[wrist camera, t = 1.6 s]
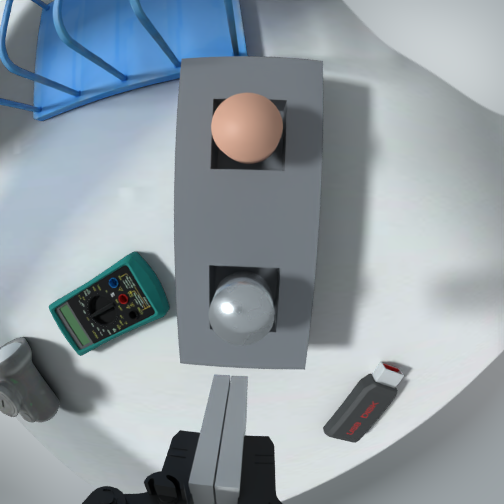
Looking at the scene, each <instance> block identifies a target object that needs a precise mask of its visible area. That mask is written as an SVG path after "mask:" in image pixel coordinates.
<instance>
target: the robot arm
mask: <svg viewBox="0 0 504 504" xmlns="http://www.w3.org/2000/svg"><path fill="white" fill-rule="evenodd" d="M247 386H248V377H247V376H232V377H231V383H230V376H229V375H214V378H213V382H212V386H211V390H210V394H209V398H208V403H207V407H206V411H205V415H204V419H203V423H202V428H201V432H200V433H197V432H189V431H181V430H180V431H179V432H178V433H177V434H176V435H175V436H174V437H173V438H172V441H171V444H170V448H169V450H168V453H167V456H166V459H165V462H164V465H163V468H162V472H161V471H160V472H156V473H153V474H151V475H150V476H148V477H147V478H146V480H145V481H144V484H145V487H146V489H147V492H145V493H140V494H123V493H122V492H121V491H120V490H118V489H117V488H114V487H110V486H103V487H100V488H97V489H96V490H95V491H93V492H92V493H91V494H90V495H89V496H88V498H87V499H86V500H85V501H84V502H83V503H82V504H282V503H281V502H280V501H279V500H278V498H277V496H276V488H275V457H274V444H273V443H272V441H271V439H270V438H269V436H245V432H246V417H247Z"/></svg>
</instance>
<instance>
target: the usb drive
mask: <svg viewBox="0 0 504 504" xmlns="http://www.w3.org/2000/svg"><path fill="white" fill-rule="evenodd" d="M403 377H404V374H403V373H402V371H401V370H400V369H399V368H397V367H394V366H391V365H388V364H386V363H383V362H380V363H379V364H378V366H377V367H376V369H375V370H374V372H373V373H372V374H368V375H367V376H365V377H364V378H362V379H361V380H360V381H359V382H358V384H357V385H356V386H355V388H354V389H353V390H352V392H351V393H350V394H349V396H348V397H347V398H346V400H345V401H344V402H343V404H342V405H341V406H340V407H339V409H338V410H337V411H336V412H335V414H334V415H333V416H332V417H331V419H330V420H329V421H328V422H327V424H326V425H325V426H324V427H323V429H324V432H325V434H326V435H328V436H329V437H333V438H337V439H341V440H345V441H350V442H357V441H359V440H360V439H361V438H362V437H363V436H364V434H365V433H366V432H367V431H368V430H369V429H370V428H371V426H372V425H373V424H374V423H375V422H376V421H377V419H378V418H379V417H380V416H381V415H382V413H383V412H384V411H385V410H386V409H387V407H388V406H389V405H390V404H391V402H392V401H393V400H394V398H395V396H396V394H397V391H398V390H397V388H396V386H397V385H398V384H399V382H400V381H401V379H402V378H403Z"/></svg>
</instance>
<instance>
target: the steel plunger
mask: <svg viewBox="0 0 504 504" xmlns="http://www.w3.org/2000/svg"><path fill="white" fill-rule="evenodd" d="M209 321H210V324H211V327H212V328H213V330H214V331H215V333H216V334H217V335H218V336H219V337H220V338H222V339H223V340H225V341H227V342H229V343H232V344H236V345H249V344H253V343H256V342H258V341H260V340H261V339H263V338H264V337H265V336H266V335H267V334H268V333H269V331H270V330H271V328H272V326H273V322H274V307H273V296H272V291H271V288H270V286H269V284H268V283H267V282H266V280H265V279H264V278H262V277H261V276H260V275H258V274H256V273H253V272H250V271H237V272H234V273H231V274H229V275H228V276H226V277H225V278H224V279H223V280H222V281H221V282H220V284H219V285H218V288H217V290H216V292H215V295H214V297H213V300H212V302H211V305H210V308H209Z"/></svg>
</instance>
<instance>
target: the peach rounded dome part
mask: <svg viewBox="0 0 504 504" xmlns="http://www.w3.org/2000/svg"><path fill="white" fill-rule="evenodd" d="M282 130H283V122H282V117H281V114H280V112H279V110H278V109H277V107H276V106H275V105H274V104H273V103H272V102H271V101H270V100H269V99H267V98H266V97H264V96H262V95H259V94H255V93H239V94H236V95H233V96H231V97H229V98H227V99H226V100H224V101H223V102H222V103H221V104H220V105H219V106H218V108H217V109H216V111H215V113H214V115H213V118H212V123H211V131H212V136H213V139H214V141H215V143H216V145H217V146H218V147H219V148H220V150H221V151H223V152H224V153H225V154H226V155H227V156H228V157H230V158H231V159H233V160H235V161H237V162H239V163H243V164H254V163H258V162H261V161H263V160H265V159H267V158H268V157H269V156H270V155H271V154H272V153H273V152H274V151H275V149H276V147H277V145H278V143H279V140H280V138H281V135H282Z"/></svg>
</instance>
